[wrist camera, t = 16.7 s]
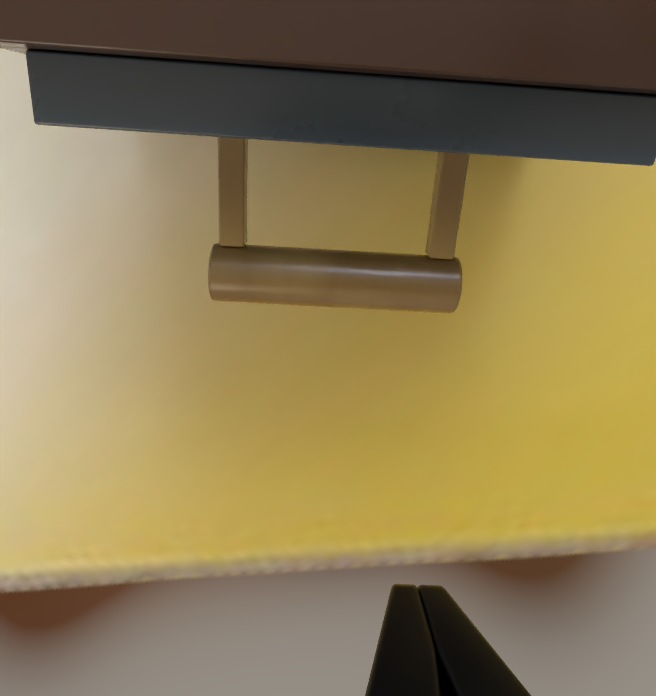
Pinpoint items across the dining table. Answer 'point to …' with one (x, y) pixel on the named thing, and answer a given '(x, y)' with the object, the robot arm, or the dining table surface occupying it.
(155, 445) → the dining table surface
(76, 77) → the drawer
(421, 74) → the cabinet
